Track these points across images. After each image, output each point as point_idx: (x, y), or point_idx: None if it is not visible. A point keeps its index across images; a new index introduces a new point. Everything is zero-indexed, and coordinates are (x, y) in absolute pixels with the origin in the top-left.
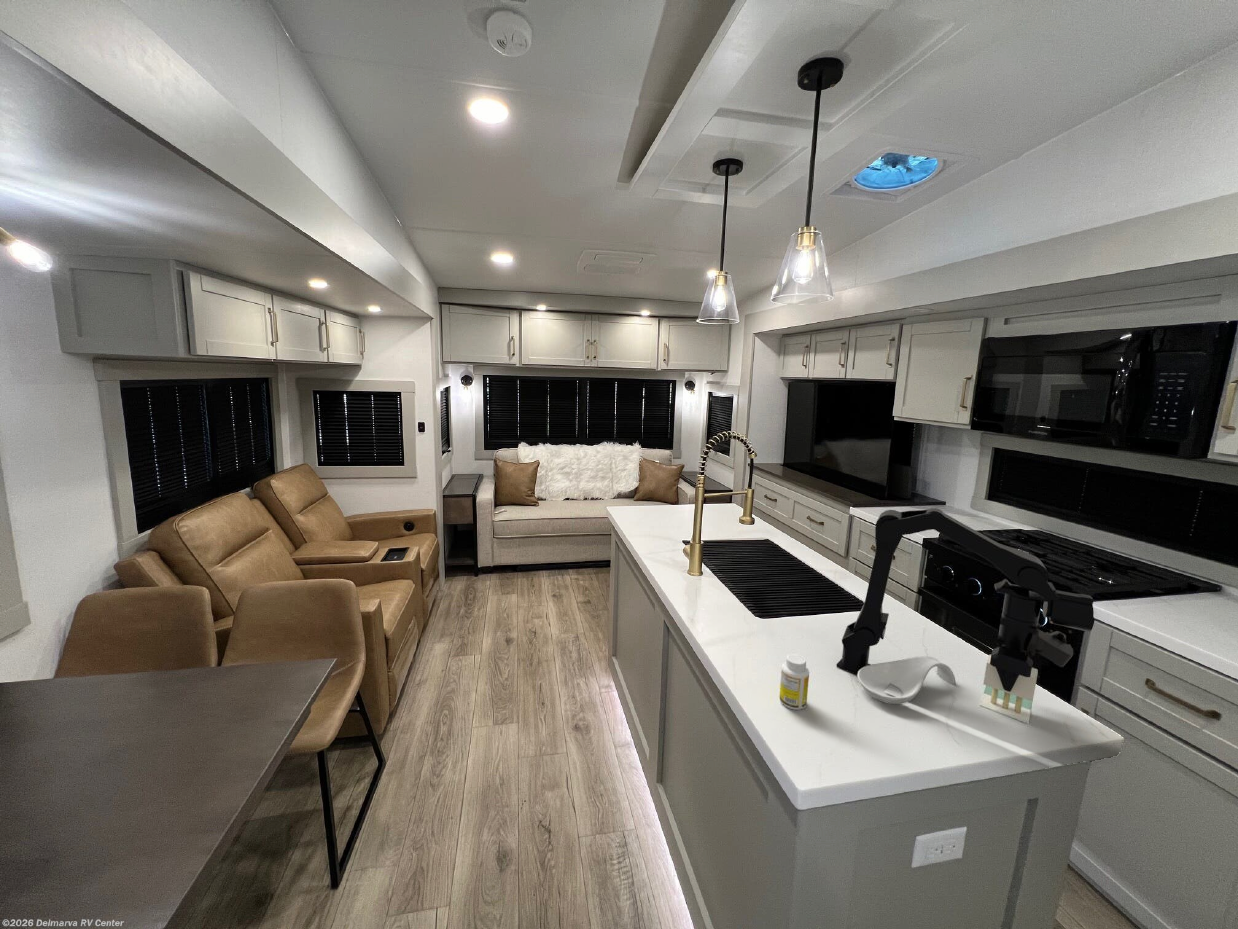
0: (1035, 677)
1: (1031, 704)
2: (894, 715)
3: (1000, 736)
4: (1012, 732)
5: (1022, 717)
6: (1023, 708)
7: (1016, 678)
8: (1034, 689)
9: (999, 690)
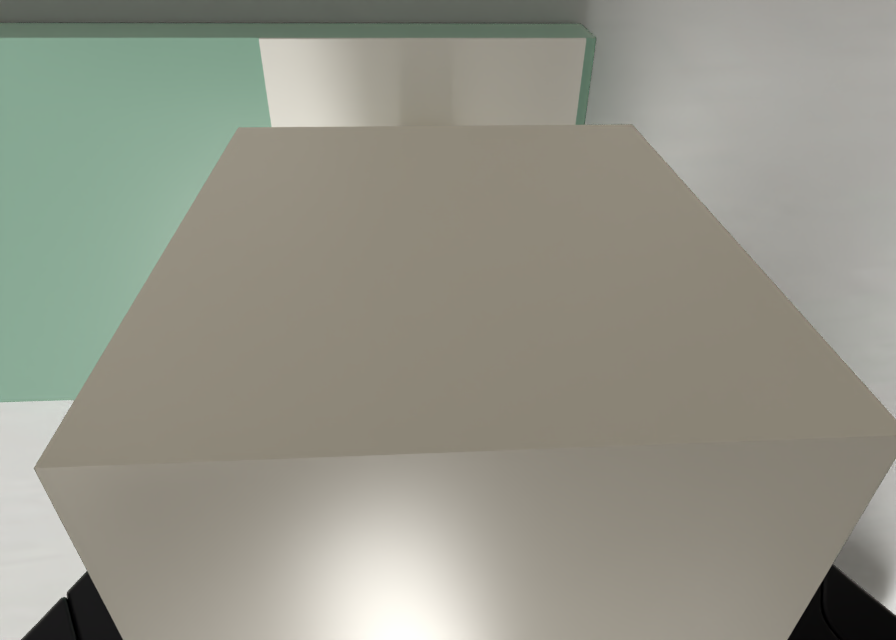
0: (812, 465)
1: (88, 38)
2: (882, 596)
3: (835, 200)
4: (718, 132)
5: (507, 102)
6: (294, 108)
7: (892, 620)
8: (730, 237)
9: (110, 314)
